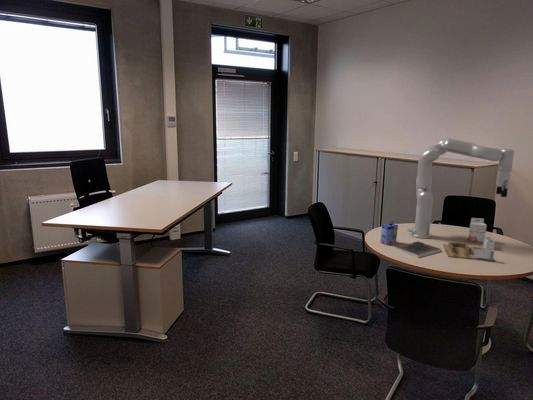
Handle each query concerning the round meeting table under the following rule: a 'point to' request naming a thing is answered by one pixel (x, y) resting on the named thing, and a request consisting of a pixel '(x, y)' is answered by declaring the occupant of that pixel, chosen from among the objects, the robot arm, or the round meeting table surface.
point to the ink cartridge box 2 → (477, 230)
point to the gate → (483, 254)
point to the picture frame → (418, 249)
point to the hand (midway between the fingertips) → (501, 195)
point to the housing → (462, 251)
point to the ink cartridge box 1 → (389, 233)
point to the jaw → (488, 243)
